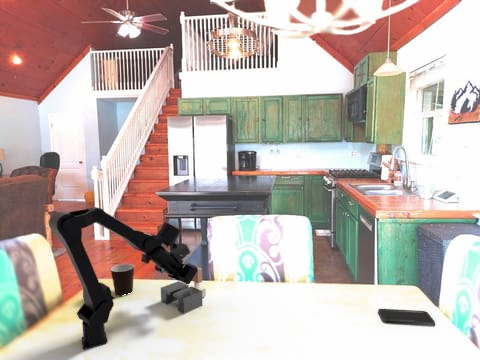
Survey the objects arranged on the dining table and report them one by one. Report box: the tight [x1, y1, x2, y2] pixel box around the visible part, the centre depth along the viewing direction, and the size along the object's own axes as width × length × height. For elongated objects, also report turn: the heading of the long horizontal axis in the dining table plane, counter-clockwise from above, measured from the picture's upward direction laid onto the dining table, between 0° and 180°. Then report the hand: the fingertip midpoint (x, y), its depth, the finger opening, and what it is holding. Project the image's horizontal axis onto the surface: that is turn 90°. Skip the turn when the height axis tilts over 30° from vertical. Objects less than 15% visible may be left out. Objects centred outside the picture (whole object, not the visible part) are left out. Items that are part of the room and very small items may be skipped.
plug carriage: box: [191, 266, 207, 299], centre depth 122 cm, size 10×5×11 cm, turn 137°
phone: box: [377, 308, 436, 326], centre depth 105 cm, size 8×1×15 cm
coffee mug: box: [110, 263, 135, 296], centre depth 131 cm, size 12×9×10 cm
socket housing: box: [160, 280, 204, 315], centre depth 119 cm, size 8×14×5 cm, turn 47°
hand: (189, 280), depth 121 cm, fingers closed
